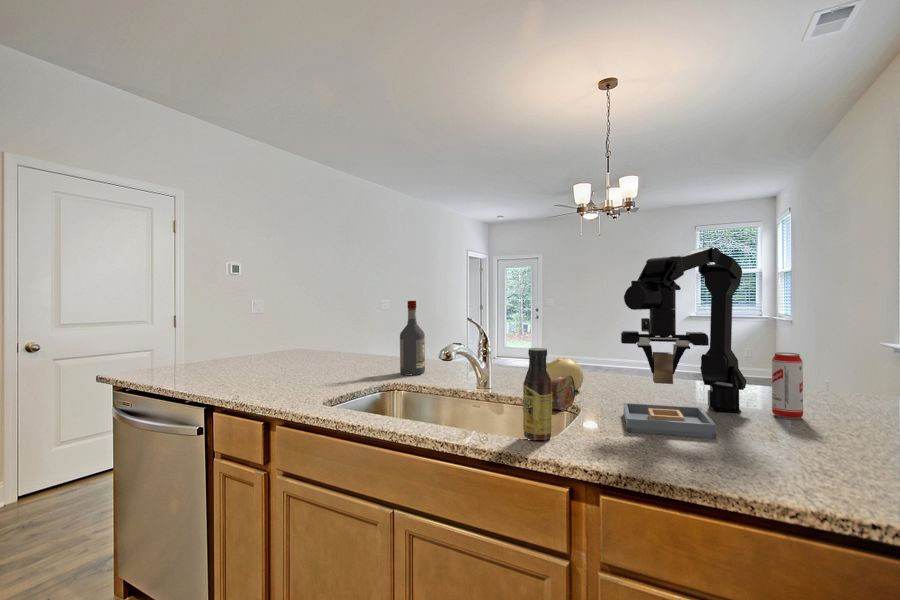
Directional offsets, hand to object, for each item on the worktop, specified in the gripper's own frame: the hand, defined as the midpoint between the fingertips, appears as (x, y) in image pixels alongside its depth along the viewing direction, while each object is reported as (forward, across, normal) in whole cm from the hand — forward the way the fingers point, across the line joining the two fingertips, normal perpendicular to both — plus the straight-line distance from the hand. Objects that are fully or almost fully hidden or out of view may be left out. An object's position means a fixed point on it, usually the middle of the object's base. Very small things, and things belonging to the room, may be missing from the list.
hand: (662, 373), depth 108 cm
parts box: (+12, 0, +1) cm, 12 cm away
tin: (+13, +25, -11) cm, 30 cm away
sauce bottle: (+13, +27, +19) cm, 36 cm away
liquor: (+13, +88, -50) cm, 102 cm away
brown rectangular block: (+2, 0, 0) cm, 2 cm away
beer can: (+12, -30, -16) cm, 36 cm away
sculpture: (+12, +26, -34) cm, 44 cm away
